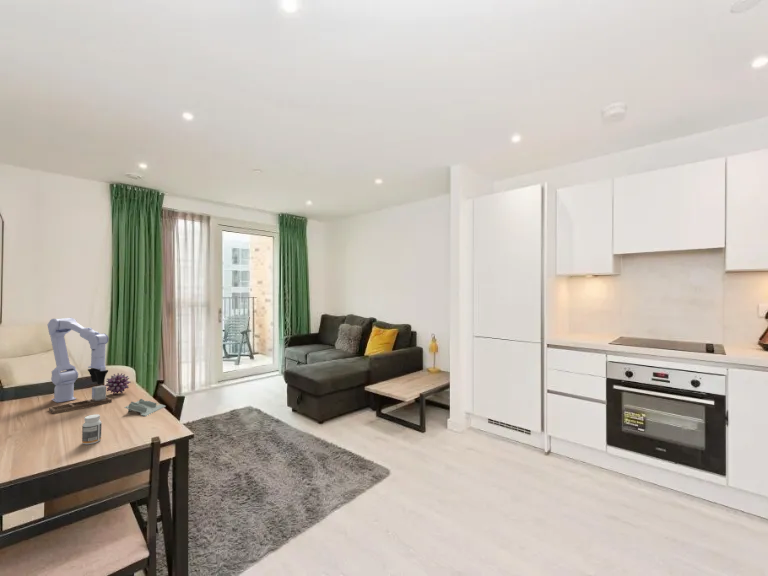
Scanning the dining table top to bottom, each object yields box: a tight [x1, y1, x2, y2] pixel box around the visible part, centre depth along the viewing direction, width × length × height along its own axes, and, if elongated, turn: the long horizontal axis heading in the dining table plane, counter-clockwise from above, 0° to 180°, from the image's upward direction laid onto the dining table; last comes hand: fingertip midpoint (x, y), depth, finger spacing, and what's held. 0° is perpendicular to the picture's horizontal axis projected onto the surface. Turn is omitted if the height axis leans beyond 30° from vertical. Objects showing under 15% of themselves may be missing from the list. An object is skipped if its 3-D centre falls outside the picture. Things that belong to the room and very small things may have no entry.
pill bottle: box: [81, 413, 103, 445], centre depth 137 cm, size 6×6×10 cm
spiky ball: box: [104, 372, 132, 395], centre depth 202 cm, size 12×12×12 cm
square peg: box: [91, 384, 107, 402], centre depth 186 cm, size 5×5×8 cm
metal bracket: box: [124, 398, 166, 417], centre depth 173 cm, size 14×6×15 cm
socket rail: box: [48, 396, 112, 415], centre depth 180 cm, size 8×23×2 cm, turn 146°
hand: (97, 382), depth 186 cm, fingers open, 7 cm apart
